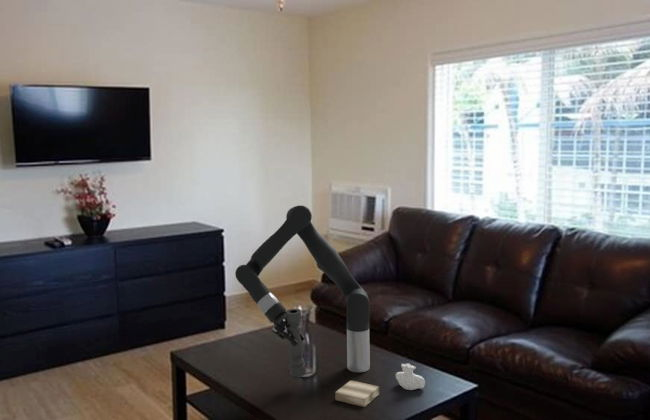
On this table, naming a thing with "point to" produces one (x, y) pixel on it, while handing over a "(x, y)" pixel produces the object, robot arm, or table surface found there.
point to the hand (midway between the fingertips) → (299, 342)
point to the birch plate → (357, 393)
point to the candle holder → (296, 351)
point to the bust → (409, 378)
